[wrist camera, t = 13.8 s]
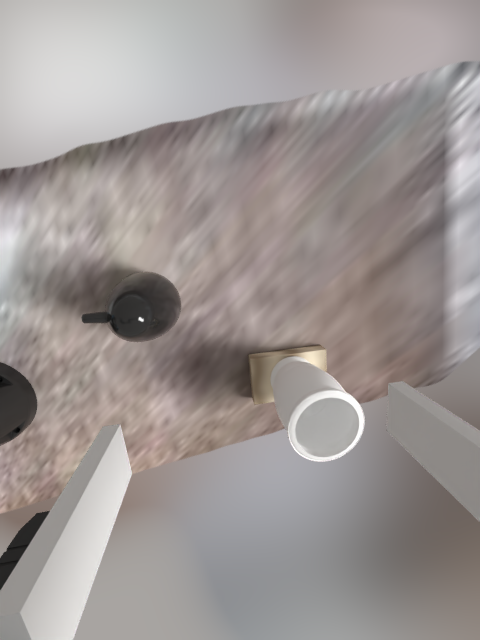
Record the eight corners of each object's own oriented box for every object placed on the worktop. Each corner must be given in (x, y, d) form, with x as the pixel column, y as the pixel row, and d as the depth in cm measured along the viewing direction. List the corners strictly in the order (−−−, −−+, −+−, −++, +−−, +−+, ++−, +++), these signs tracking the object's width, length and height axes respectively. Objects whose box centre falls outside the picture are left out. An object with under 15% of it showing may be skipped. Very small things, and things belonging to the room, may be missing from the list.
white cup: (253, 370, 47) (273, 420, 33) (302, 339, 47) (344, 375, 32) (282, 412, 50) (312, 476, 35) (328, 383, 50) (378, 435, 35)
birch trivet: (252, 397, 51) (254, 404, 49) (248, 354, 49) (250, 359, 47) (321, 387, 52) (326, 393, 50) (320, 344, 50) (326, 349, 48)
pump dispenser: (118, 269, 43) (71, 275, 28) (183, 271, 44) (170, 279, 30) (121, 329, 45) (80, 363, 31) (183, 330, 47) (171, 363, 32)
